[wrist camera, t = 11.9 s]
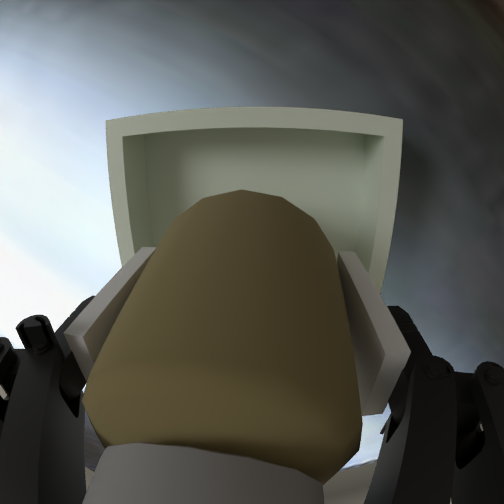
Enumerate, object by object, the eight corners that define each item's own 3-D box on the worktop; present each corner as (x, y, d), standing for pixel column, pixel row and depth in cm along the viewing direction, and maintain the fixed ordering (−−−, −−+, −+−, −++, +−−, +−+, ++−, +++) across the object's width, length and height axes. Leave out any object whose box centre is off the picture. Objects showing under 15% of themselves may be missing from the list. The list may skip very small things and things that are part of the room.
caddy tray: (158, 323, 22) (142, 352, 19) (133, 120, 16) (105, 120, 13) (352, 330, 21) (362, 361, 18) (379, 120, 15) (402, 119, 12)
